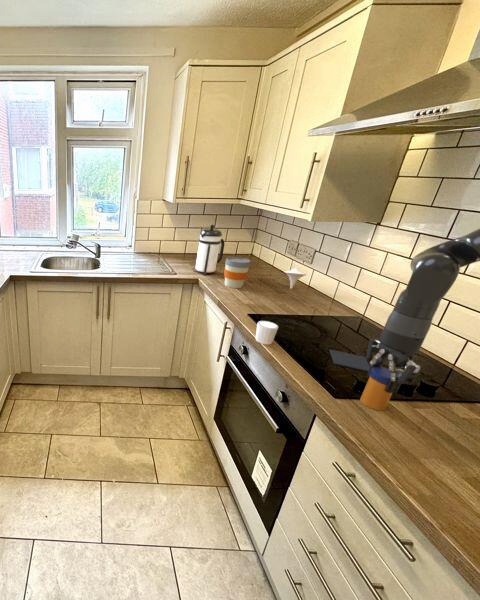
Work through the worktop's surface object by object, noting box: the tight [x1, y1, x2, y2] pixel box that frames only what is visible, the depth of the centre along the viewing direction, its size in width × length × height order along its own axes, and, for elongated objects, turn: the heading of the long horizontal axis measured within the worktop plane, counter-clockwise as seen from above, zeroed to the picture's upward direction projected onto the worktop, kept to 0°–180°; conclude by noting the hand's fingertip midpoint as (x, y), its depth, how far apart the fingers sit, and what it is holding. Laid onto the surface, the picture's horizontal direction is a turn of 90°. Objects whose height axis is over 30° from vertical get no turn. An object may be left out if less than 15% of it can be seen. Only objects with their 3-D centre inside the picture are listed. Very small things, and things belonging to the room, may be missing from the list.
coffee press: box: [194, 224, 225, 276], centre depth 196 cm, size 17×16×30 cm
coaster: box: [328, 349, 370, 373], centre depth 107 cm, size 10×10×1 cm
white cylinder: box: [255, 320, 279, 346], centre depth 119 cm, size 7×7×7 cm
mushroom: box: [283, 267, 308, 290], centre depth 171 cm, size 10×11×12 cm
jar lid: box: [370, 366, 399, 384], centre depth 84 cm, size 6×6×2 cm
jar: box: [359, 376, 394, 411], centre depth 86 cm, size 5×5×10 cm
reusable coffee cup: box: [223, 256, 251, 289], centre depth 175 cm, size 13×13×15 cm
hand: (380, 384), depth 85 cm, fingers closed on jar lid, 5 cm apart
